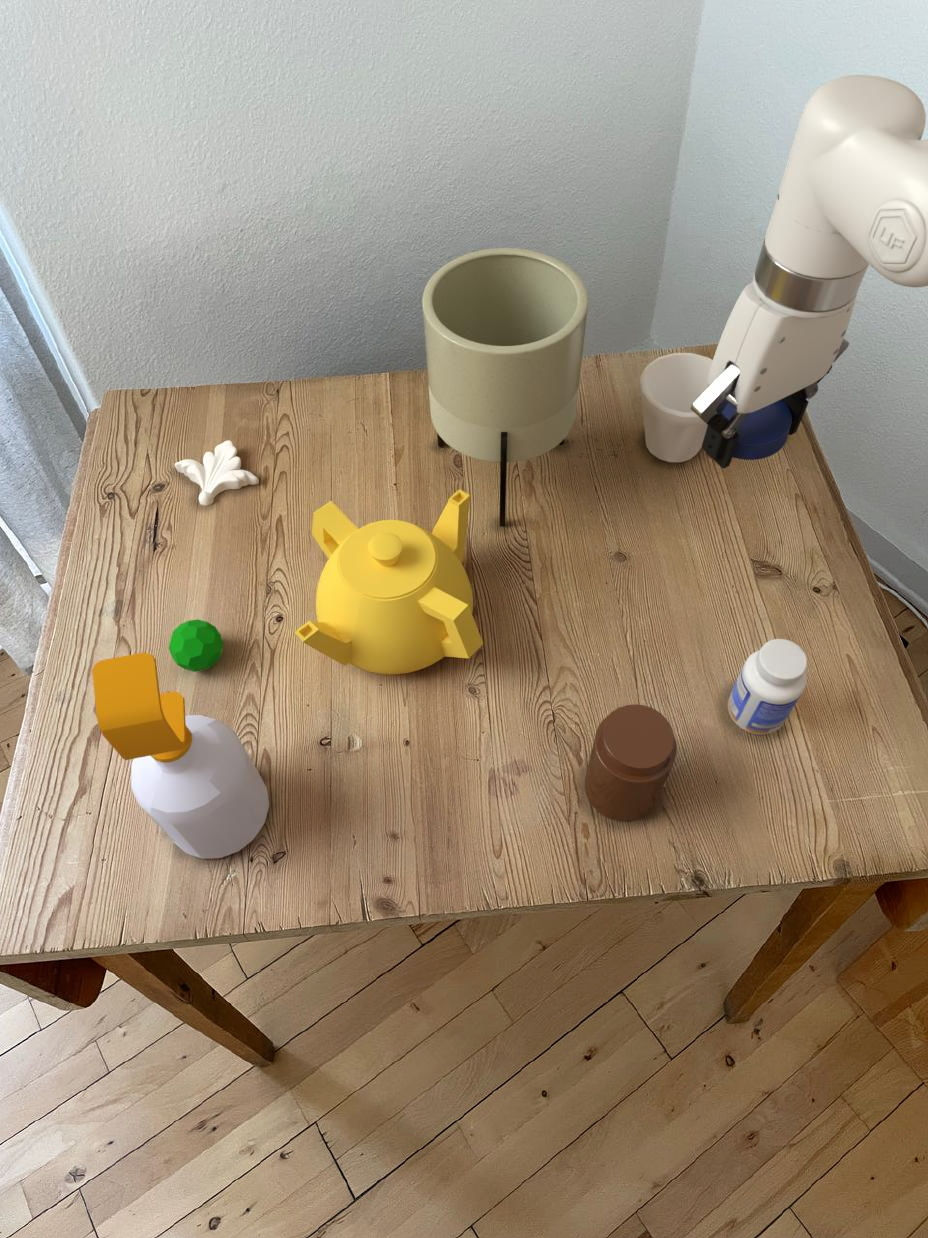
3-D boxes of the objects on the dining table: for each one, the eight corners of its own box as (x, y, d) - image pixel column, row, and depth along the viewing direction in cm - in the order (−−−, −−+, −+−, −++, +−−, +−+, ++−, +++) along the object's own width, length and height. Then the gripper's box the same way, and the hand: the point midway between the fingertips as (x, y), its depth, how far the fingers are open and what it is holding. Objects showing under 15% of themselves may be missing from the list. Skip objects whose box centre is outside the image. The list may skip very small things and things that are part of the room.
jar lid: (694, 444, 79) (696, 429, 77) (726, 396, 82) (728, 380, 80) (769, 470, 76) (773, 454, 74) (799, 419, 79) (804, 403, 77)
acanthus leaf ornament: (176, 471, 100) (171, 459, 99) (230, 445, 102) (226, 433, 101) (205, 510, 97) (200, 499, 95) (260, 483, 99) (256, 471, 97)
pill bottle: (796, 708, 82) (830, 656, 74) (764, 747, 80) (795, 698, 72) (746, 674, 84) (774, 619, 76) (714, 712, 82) (739, 659, 74)
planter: (600, 484, 97) (627, 311, 78) (477, 542, 94) (474, 374, 74) (528, 403, 105) (537, 226, 86) (411, 452, 101) (393, 279, 82)
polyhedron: (223, 631, 88) (210, 604, 84) (232, 671, 86) (219, 646, 82) (174, 645, 87) (159, 619, 83) (181, 685, 85) (166, 661, 81)
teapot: (319, 554, 93) (299, 478, 83) (475, 546, 93) (473, 469, 83) (311, 693, 84) (287, 627, 74) (484, 684, 84) (483, 616, 74)
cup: (655, 402, 104) (668, 339, 97) (731, 436, 101) (751, 374, 93) (612, 453, 100) (622, 391, 92) (690, 490, 97) (708, 429, 89)
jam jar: (662, 760, 79) (684, 706, 70) (654, 829, 76) (676, 781, 67) (590, 746, 80) (602, 691, 71) (579, 813, 77) (591, 765, 68)
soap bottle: (265, 754, 81) (188, 607, 60) (274, 849, 76) (193, 724, 55) (167, 774, 80) (55, 631, 59) (169, 870, 75) (48, 752, 54)
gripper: (860, 207, 68) (792, 381, 83) (683, 281, 64) (646, 452, 79) (933, 257, 65) (849, 430, 80) (752, 339, 60) (698, 507, 75)
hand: (748, 440), depth 79 cm, fingers closed on jar lid, 7 cm apart
